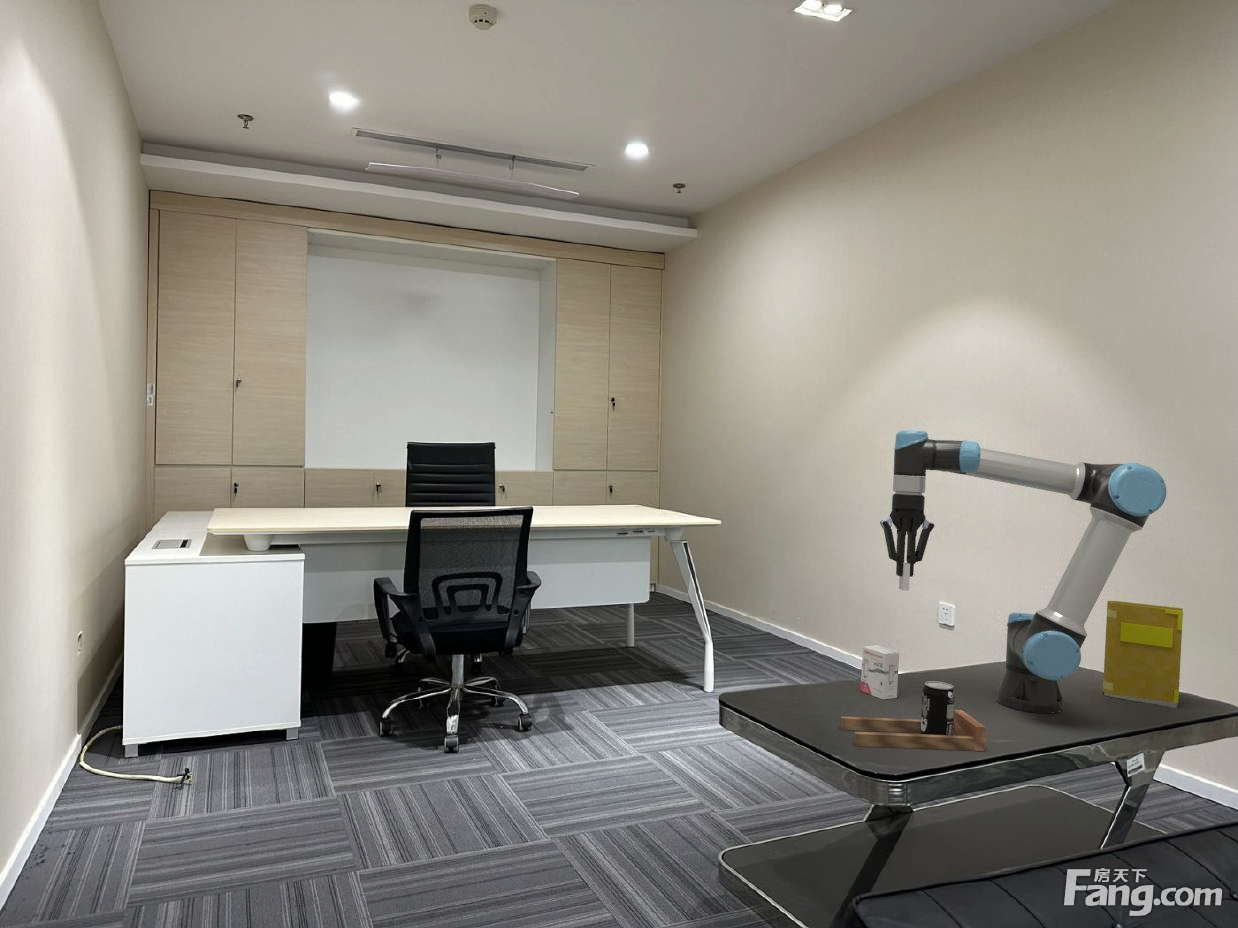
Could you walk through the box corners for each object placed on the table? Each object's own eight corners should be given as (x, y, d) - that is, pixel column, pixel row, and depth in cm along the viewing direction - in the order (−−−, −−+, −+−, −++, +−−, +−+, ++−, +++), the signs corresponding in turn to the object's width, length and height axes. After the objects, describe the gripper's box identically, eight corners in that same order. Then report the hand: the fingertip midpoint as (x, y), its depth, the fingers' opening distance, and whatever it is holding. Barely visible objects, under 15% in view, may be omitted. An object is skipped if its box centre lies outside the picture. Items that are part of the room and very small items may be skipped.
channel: (960, 732, 190) (961, 709, 190) (984, 750, 178) (985, 727, 178) (839, 727, 190) (840, 704, 190) (855, 745, 178) (856, 721, 178)
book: (1177, 703, 224) (1182, 608, 224) (1178, 708, 219) (1183, 611, 218) (1103, 691, 233) (1108, 599, 233) (1102, 696, 228) (1106, 602, 227)
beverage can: (914, 734, 187) (917, 680, 187) (943, 735, 188) (946, 680, 188) (929, 745, 180) (931, 688, 180) (958, 745, 181) (961, 688, 181)
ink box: (859, 690, 222) (861, 645, 222) (873, 689, 224) (875, 644, 224) (883, 700, 214) (885, 652, 214) (897, 698, 216) (900, 651, 216)
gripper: (929, 494, 214) (924, 588, 214) (877, 491, 213) (872, 586, 214) (941, 495, 206) (936, 593, 206) (887, 493, 206) (882, 590, 206)
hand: (903, 589), depth 210 cm, fingers closed
